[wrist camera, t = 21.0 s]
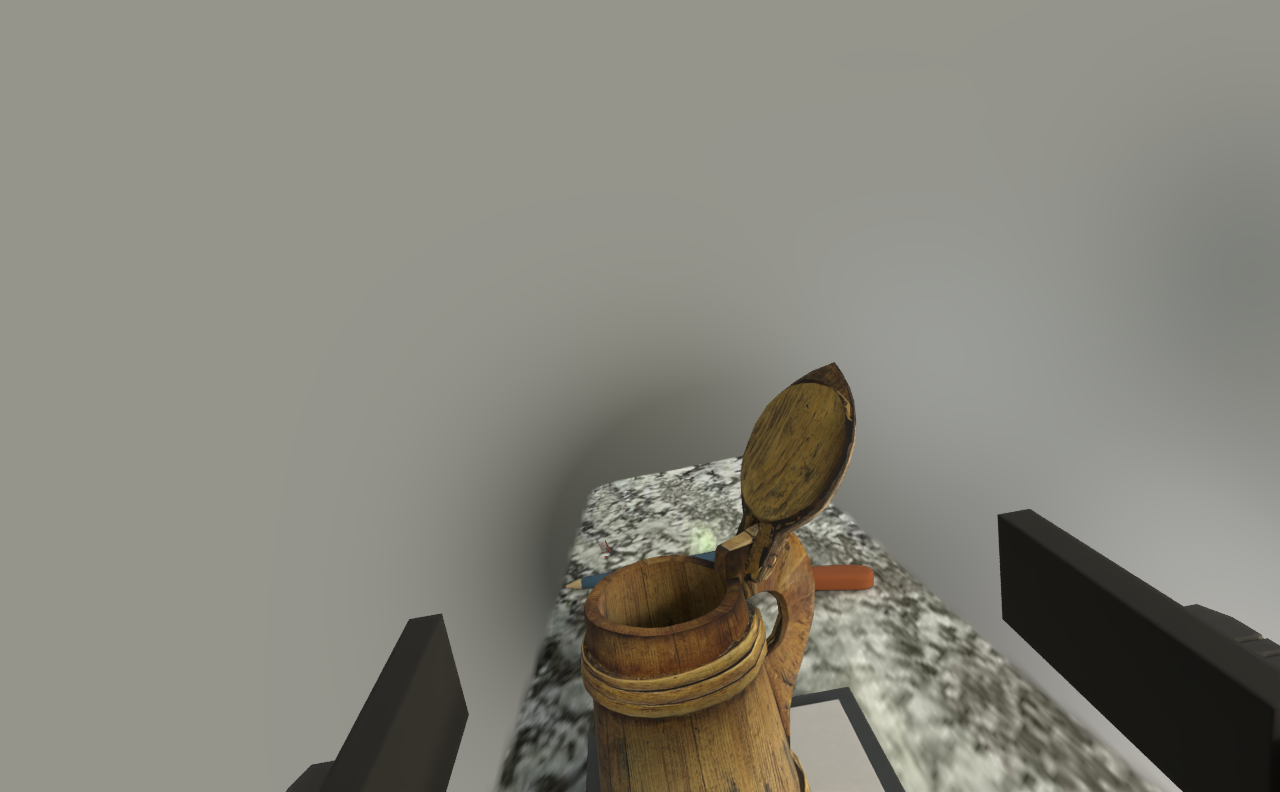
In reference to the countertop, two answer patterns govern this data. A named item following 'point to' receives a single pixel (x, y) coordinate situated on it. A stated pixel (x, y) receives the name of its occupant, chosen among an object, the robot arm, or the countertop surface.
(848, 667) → the countertop surface
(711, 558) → the pencil
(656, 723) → the wooden mug
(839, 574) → the kitchen knife
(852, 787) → the kitchen scale
